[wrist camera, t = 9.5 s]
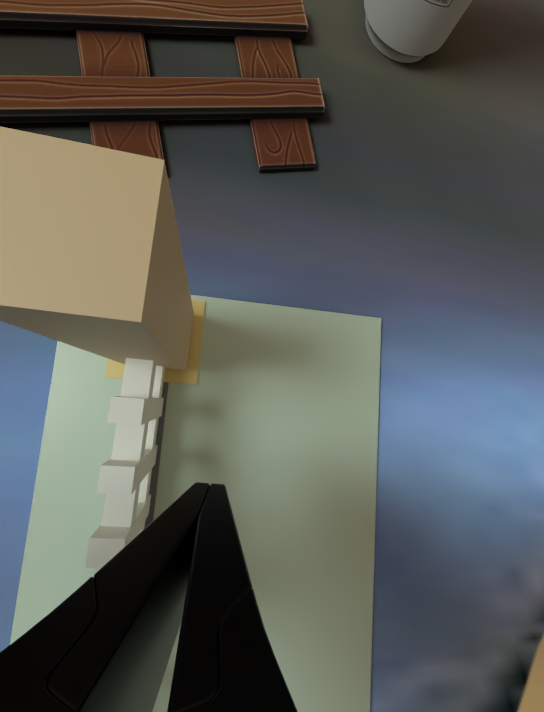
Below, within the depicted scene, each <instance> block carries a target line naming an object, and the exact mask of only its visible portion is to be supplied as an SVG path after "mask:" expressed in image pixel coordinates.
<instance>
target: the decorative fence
mask: <svg viewBox="0 0 544 712" xmlns="http://www.w3.org/2000/svg"><path fill="white" fill-rule="evenodd" d="M0 28H6V29H35V30H64V31H76V35H77V42H78V49H79V56H80V63H81V70H82V76H0V123H27V122H89V125H90V132H91V139H92V145H94V146H99V147H104V148H108V149H113V150H118V151H123V152H128V153H133V154H138V155H143V156H147V157H152V158H157V159H162V160H164V157H163V151H162V145H161V139H160V133H159V126H158V120H213V119H249V123H250V128H251V134H252V139H253V144H254V150H255V155H256V160H257V166H258V171H259V172H260V173H276V172H296V171H313V170H314V169H315V167H316V165H317V164H316V160H315V155H314V150H313V145H312V140H311V135H310V130H309V125H308V120H307V118H322V117H323V115H324V113H325V110H326V107H325V102H324V97H323V93H322V88H321V83H320V80H319V79H315V78H299V76H298V71H297V66H296V61H295V56H294V51H293V46H292V42H291V38H295V39H305V38H306V37H307V34H308V31H309V26H308V21H307V16H306V11H305V7H304V2H303V0H0ZM143 33H150V34H179V35H208V36H233V38H234V43H235V48H236V54H237V59H238V64H239V70H240V75H241V78H207V77H150V71H149V65H148V59H147V53H146V47H145V41H144V35H143Z"/></svg>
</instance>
